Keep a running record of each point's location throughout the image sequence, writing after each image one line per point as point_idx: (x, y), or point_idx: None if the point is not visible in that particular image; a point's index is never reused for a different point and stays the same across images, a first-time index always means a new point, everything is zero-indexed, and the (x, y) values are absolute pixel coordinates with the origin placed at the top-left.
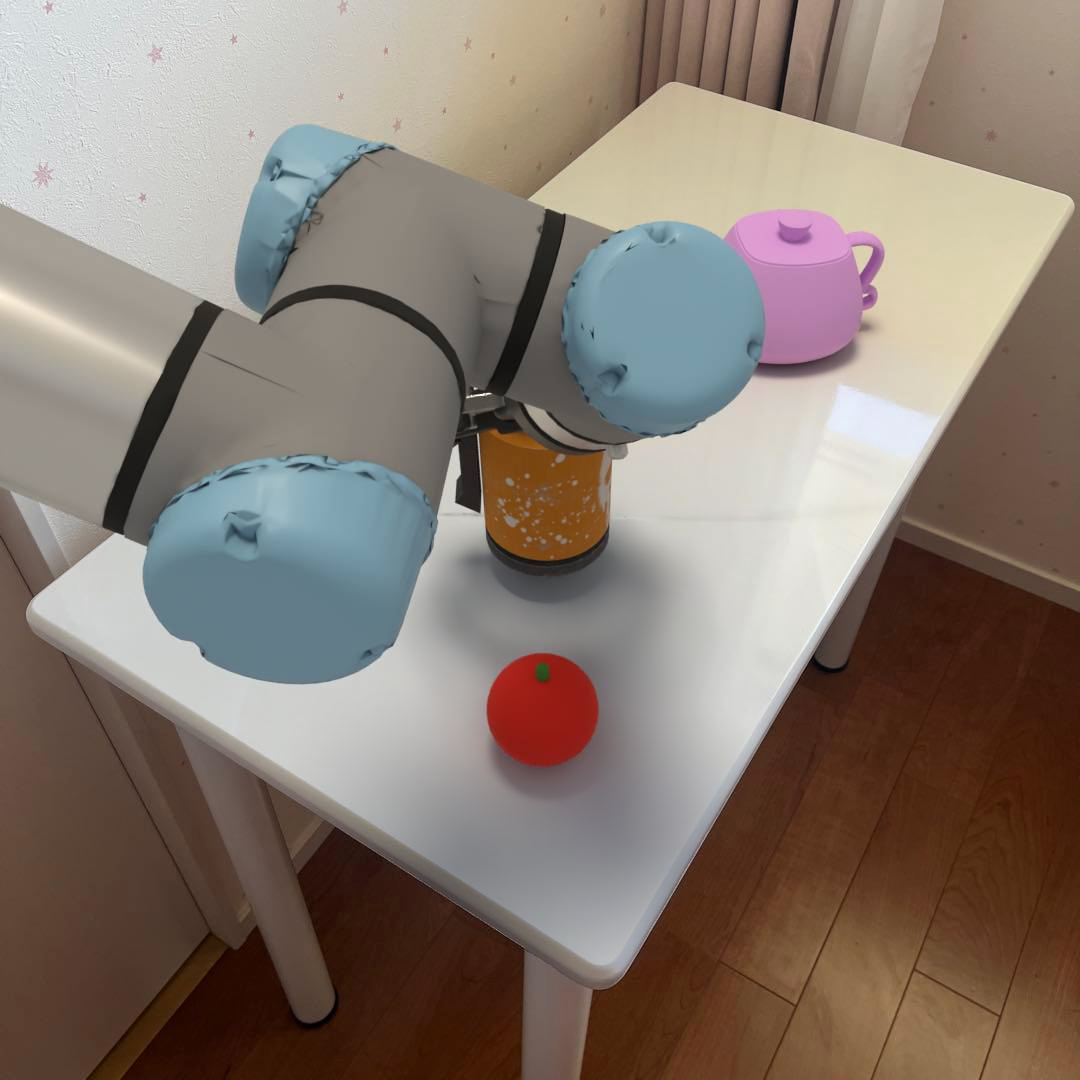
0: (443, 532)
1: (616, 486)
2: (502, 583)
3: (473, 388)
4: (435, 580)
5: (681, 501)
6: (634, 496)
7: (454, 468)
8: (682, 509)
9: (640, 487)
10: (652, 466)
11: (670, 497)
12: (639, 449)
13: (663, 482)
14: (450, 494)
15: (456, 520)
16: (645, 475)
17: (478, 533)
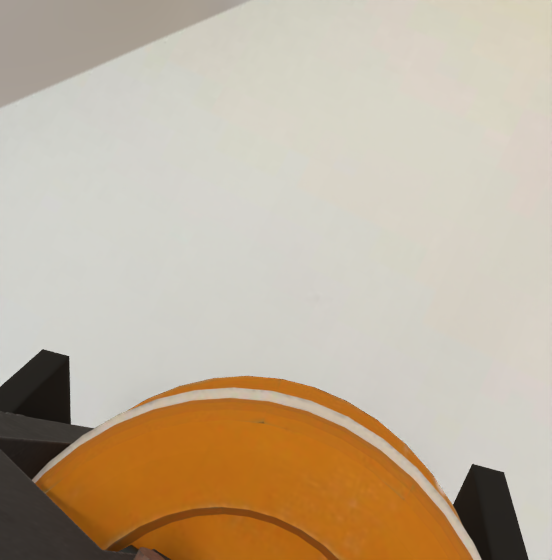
0: (153, 392)
1: (445, 433)
2: None
3: (36, 459)
4: None
5: (535, 522)
6: (463, 469)
7: (232, 277)
8: (528, 541)
9: (482, 455)
10: (522, 420)
11: (520, 503)
12: (517, 373)
13: (524, 464)
14: (201, 324)
15: (183, 378)
16: (501, 433)
17: None
